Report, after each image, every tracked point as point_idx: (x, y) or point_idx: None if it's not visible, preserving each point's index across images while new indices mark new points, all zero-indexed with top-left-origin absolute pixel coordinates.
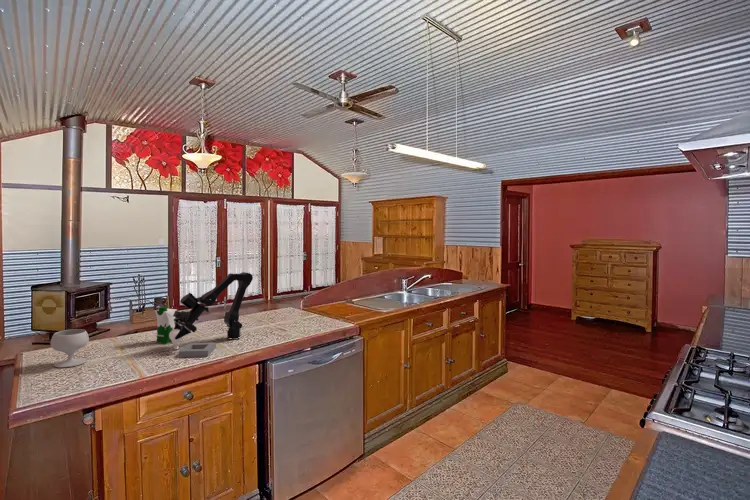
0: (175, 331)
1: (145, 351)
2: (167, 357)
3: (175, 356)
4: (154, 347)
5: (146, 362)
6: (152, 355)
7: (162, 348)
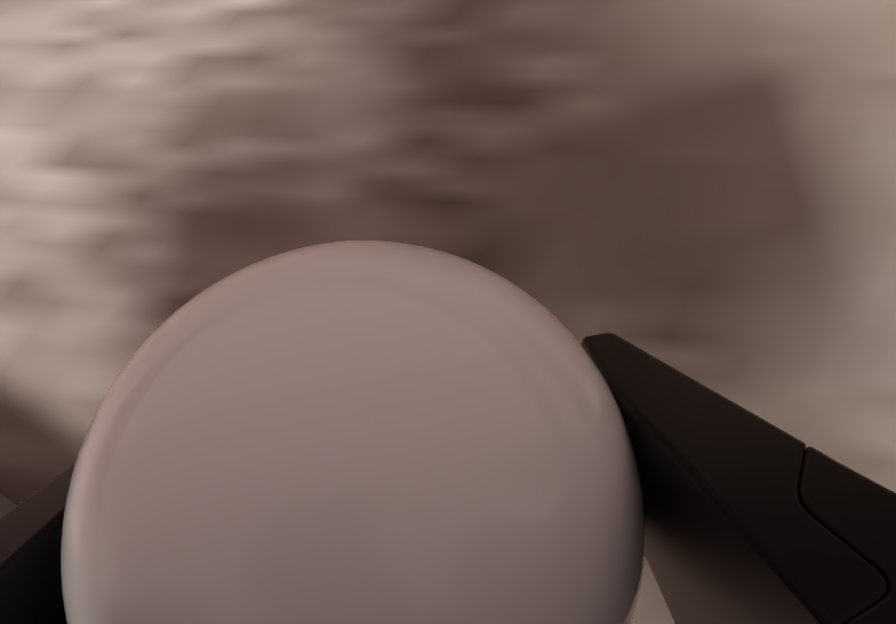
0: (90, 461)
1: (640, 6)
2: (61, 284)
3: (23, 406)
4: (856, 139)
5: (36, 20)
6: (326, 94)
7: (696, 263)
